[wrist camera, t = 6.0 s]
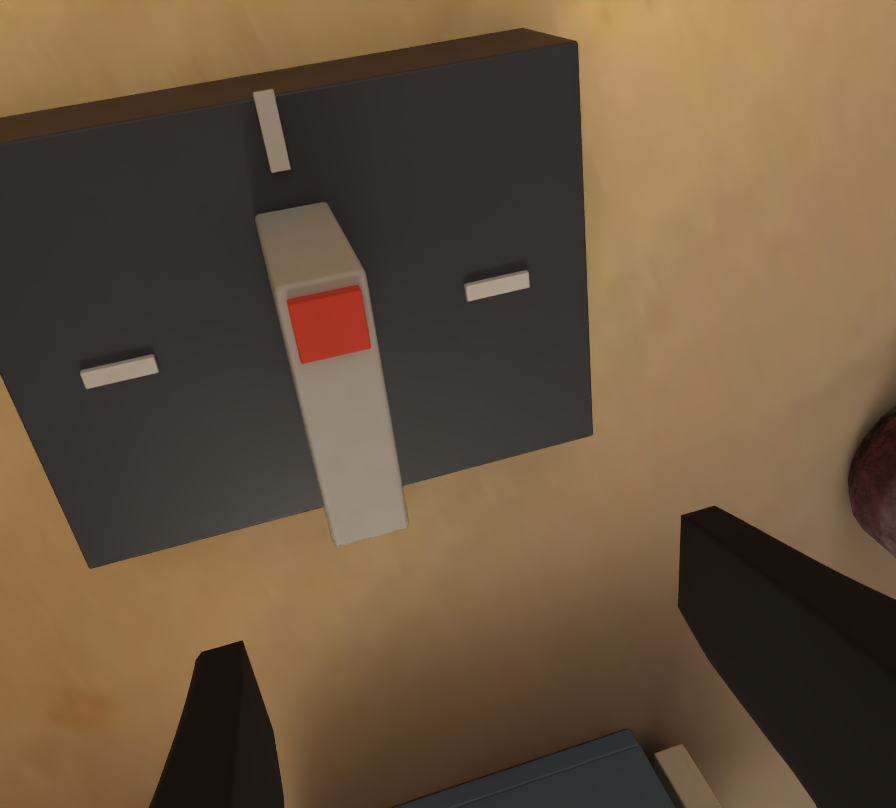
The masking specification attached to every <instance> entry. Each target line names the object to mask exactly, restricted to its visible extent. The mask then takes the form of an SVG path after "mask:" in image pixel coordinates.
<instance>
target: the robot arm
mask: <svg viewBox="0 0 896 808" xmlns="http://www.w3.org/2000/svg"><path fill="white" fill-rule="evenodd" d="M678 608H679V609H680V611H681V613H682V615H683V617H684V618H685V620H686V622H687V624H688V626H689V628H690V629H691V631H692V633H693V635H694V636H695V638H696V640H697V642H698V643H699V645H700V647H701V648H702V650H703V652H704V653H705V655H706V657H707V658H708V660H709V661H710V663H711V664H712V665H713V667H714V668H715V670H716V671H717V672H718V674H719V675H720V676H721V678H722V679H723V680H724V682H725V683H726V684H727V686H728V687H729V688H730V690H731V691H732V692H733V694H734V695H735V696H736V698H737V699H738V700H739V702H740V703H741V704H742V706H743V707H744V708H745V710H746V711H747V712H748V713H749V715H750V716H751V717H752V719H753V720H754V721H755V723H756V724H757V725H758V727H759V728H760V729H761V731H762V732H763V733H764V734H765V736H766V737H767V738H768V740H769V741H770V742H771V744H772V745H773V746H774V748H775V749H776V750H777V752H778V753H779V754H780V755H781V757H782V758H783V759H784V761H785V762H786V763H787V765H788V766H789V767H790V769H791V770H792V771H793V773H794V774H795V775H796V777H797V778H798V780H799V781H800V782H801V784H802V785H803V787H804V788H805V790H806V791H807V792H808V794H809V795H810V797H811V798H812V800H813V801H814V803H815V804H816V806H817V808H896V600H895V599H893V598H891V597H888V596H886V595H884V594H882V593H880V592H878V591H875V590H873V589H871V588H869V587H867V586H865V585H863V584H861V583H859V582H857V581H855V580H853V579H851V578H849V577H847V576H845V575H843V574H841V573H839V572H837V571H835V570H833V569H831V568H829V567H827V566H825V565H823V564H821V563H820V562H818V561H816V560H814V559H812V558H810V557H808V556H806V555H804V554H803V553H801V552H799V551H797V550H795V549H793V548H792V547H790V546H788V545H786V544H784V543H782V542H781V541H779V540H777V539H775V538H773V537H771V536H770V535H768V534H766V533H764V532H762V531H761V530H759V529H757V528H755V527H753V526H752V525H750V524H748V523H746V522H744V521H743V520H741V519H739V518H737V517H735V516H733V515H732V514H730V513H728V512H726V511H724V510H722V509H720V508H718V507H716V506H712V507H708V508H705V509H701V510H698V511H694V512H691V513H687V514H684V515H681V534H680V563H679V592H678ZM149 808H284V795H283V789H282V782H281V775H280V769H279V762H278V756H277V750H276V744H275V738H274V731H273V728H272V725H271V722H270V719H269V716H268V713H267V711H266V708H265V705H264V702H263V699H262V696H261V693H260V690H259V687H258V684H257V681H256V678H255V675H254V672H253V669H252V666H251V664H250V661H249V658H248V655H247V652H246V649H245V646H244V643H243V640H242V641H239V642H235V643H232V644H228V645H225V646H221V647H218V648H214V649H211V650H207V651H204V652H201V654H200V655H199V656H198V658H197V659H196V661H195V666H194V671H193V675H192V679H191V683H190V687H189V691H188V694H187V698H186V702H185V705H184V709H183V712H182V715H181V718H180V722H179V725H178V728H177V731H176V734H175V737H174V740H173V743H172V746H171V749H170V752H169V754H168V757H167V760H166V763H165V766H164V769H163V771H162V774H161V777H160V780H159V783H158V785H157V788H156V791H155V793H154V796H153V798H152V801H151V803H150V805H149Z"/></svg>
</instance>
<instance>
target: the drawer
mask: <svg viewBox="0 0 896 808" xmlns="http://www.w3.org/2000/svg"><path fill="white" fill-rule="evenodd" d="M654 771H655V773H656V775H657V776H658V778H659V780H660V782H661V783H662V785H663V787H664V789H665V790H666V792H667V794H668V796H669V797H670V799H671V801H672V803H673V804H674V806H675V808H722V806H721V805H720V803H719V801H718V800H717V798H716V797H715V795H714V793H713V792H712V790H711V789H710V787H709V785H708V784H707V782H706V781H705V779H704V777H703V776H702V774H701V773H700V771H699V769H698V768H697V766H696V765H695V763H694V761H693V760H692V758H691V756H690V755H689V753H688V752H687V750H686V748H685V747H684V745H683V744H680V745H677V746H674V747H671V748H668V749H666V750H663V751H660V752H657V753H655V754H654Z"/></svg>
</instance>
